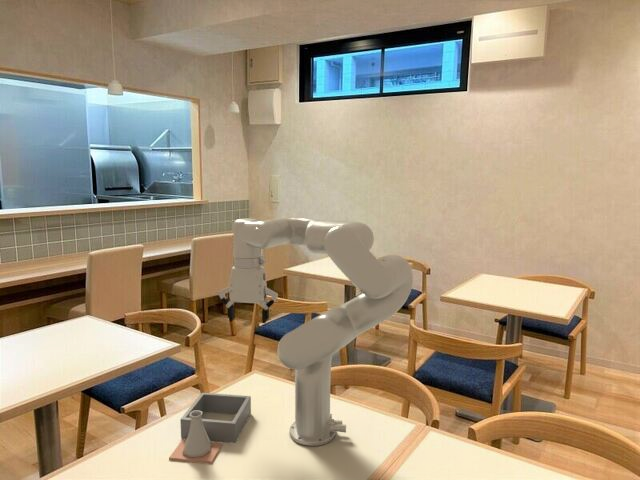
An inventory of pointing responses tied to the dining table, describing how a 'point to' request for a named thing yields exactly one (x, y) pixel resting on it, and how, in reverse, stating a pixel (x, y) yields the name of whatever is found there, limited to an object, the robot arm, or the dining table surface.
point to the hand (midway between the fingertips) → (248, 320)
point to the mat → (205, 459)
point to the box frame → (219, 404)
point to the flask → (197, 437)
